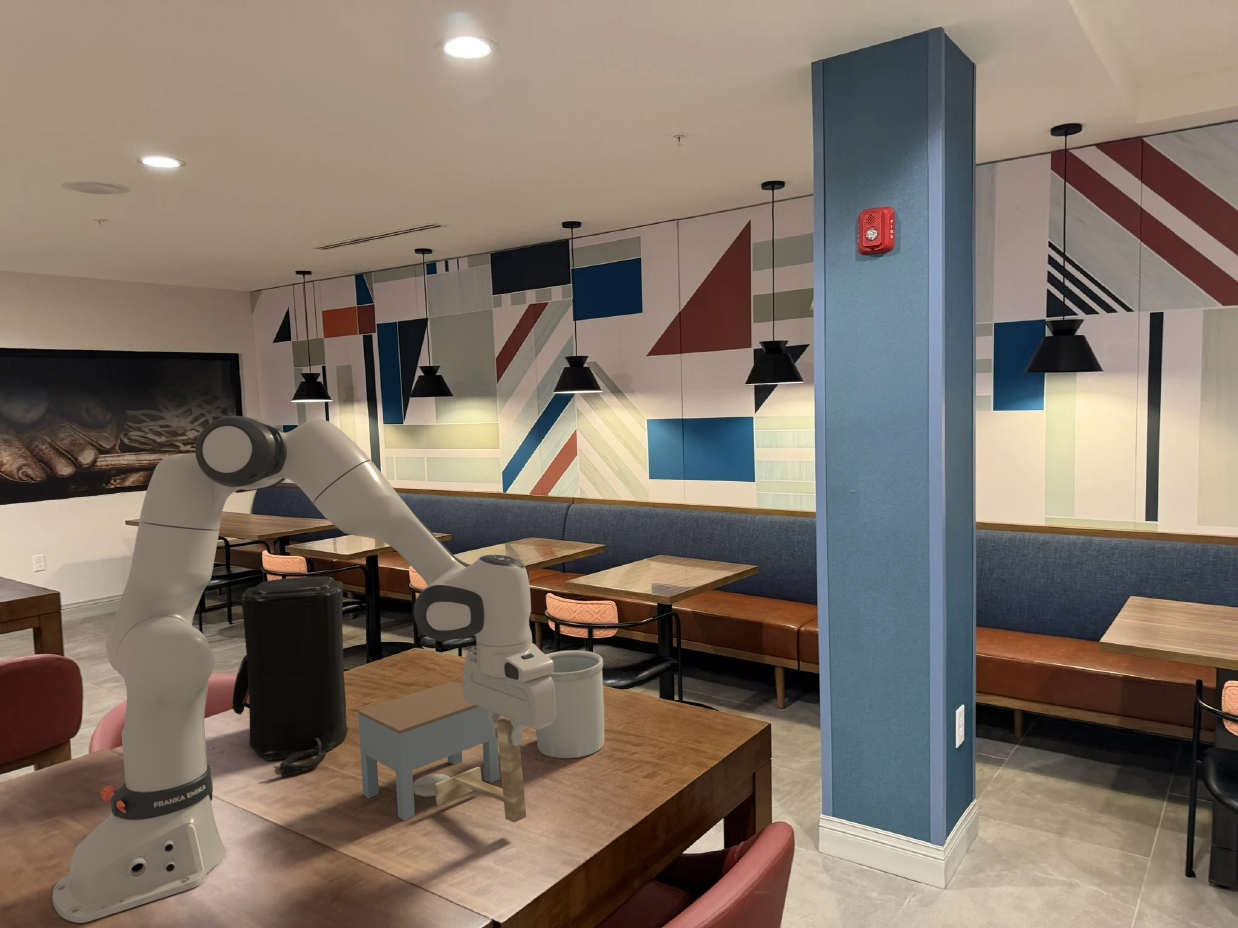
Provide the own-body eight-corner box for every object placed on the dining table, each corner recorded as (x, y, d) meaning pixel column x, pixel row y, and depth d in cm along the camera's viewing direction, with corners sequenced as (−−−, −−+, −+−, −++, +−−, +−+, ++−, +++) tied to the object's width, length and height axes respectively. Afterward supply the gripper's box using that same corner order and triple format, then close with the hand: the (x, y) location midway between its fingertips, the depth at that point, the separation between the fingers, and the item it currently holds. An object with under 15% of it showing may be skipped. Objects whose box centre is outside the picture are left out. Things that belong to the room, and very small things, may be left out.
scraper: (497, 830, 127) (488, 728, 127) (436, 803, 140) (427, 711, 140) (542, 809, 134) (533, 712, 134) (479, 785, 146) (471, 697, 146)
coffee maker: (332, 706, 192) (324, 566, 190) (389, 748, 167) (381, 586, 165) (229, 733, 178) (219, 581, 176) (275, 783, 153) (263, 607, 151)
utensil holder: (523, 757, 161) (519, 670, 159) (547, 728, 175) (544, 648, 174) (595, 763, 157) (591, 674, 156) (613, 732, 172) (610, 651, 170)
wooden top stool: (404, 820, 137) (399, 730, 136) (363, 794, 147) (358, 710, 146) (499, 779, 152) (495, 697, 150) (456, 758, 161) (452, 681, 160)
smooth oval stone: (427, 801, 144) (426, 795, 144) (405, 790, 149) (405, 783, 149) (459, 787, 149) (459, 781, 149) (437, 776, 154) (437, 770, 154)
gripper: (451, 648, 135) (454, 729, 136) (529, 674, 121) (532, 764, 122) (482, 640, 140) (485, 718, 141) (561, 664, 126) (564, 751, 126)
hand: (508, 740), depth 131 cm, fingers closed on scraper, 3 cm apart
